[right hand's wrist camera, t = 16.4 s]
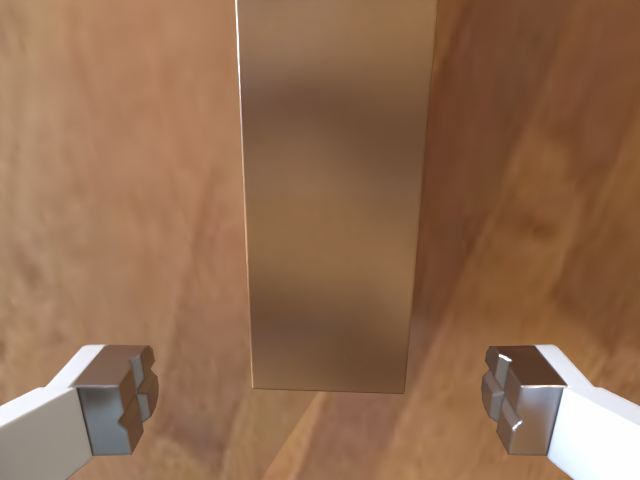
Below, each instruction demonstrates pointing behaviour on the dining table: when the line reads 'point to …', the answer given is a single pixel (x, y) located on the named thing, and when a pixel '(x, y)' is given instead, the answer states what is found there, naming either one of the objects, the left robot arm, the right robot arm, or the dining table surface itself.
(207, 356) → the dining table surface
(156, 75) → the dining table surface
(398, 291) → the bar
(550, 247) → the dining table surface
